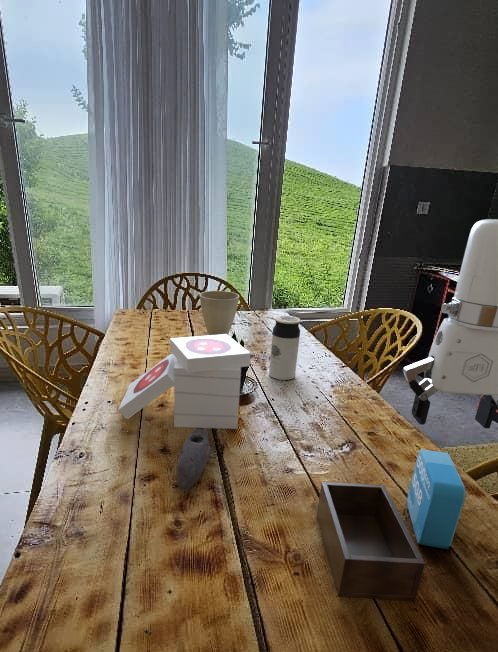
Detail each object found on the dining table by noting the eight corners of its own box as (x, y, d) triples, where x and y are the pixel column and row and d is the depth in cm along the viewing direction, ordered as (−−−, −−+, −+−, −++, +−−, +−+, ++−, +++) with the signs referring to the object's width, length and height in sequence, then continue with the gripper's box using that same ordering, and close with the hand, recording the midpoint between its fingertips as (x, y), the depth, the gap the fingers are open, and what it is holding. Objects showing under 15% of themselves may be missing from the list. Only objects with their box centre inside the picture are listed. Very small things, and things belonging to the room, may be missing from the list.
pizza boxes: (131, 394, 119) (129, 330, 113) (243, 398, 120) (247, 334, 113) (116, 429, 102) (112, 355, 95) (247, 434, 102) (252, 361, 95)
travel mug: (287, 369, 141) (293, 314, 134) (299, 379, 134) (306, 321, 127) (264, 371, 138) (269, 315, 132) (275, 381, 131) (281, 323, 125)
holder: (377, 517, 77) (384, 485, 75) (414, 601, 61) (425, 563, 59) (316, 514, 77) (321, 481, 75) (338, 596, 62) (345, 559, 59)
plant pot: (197, 329, 178) (198, 290, 172) (233, 330, 179) (236, 290, 173) (199, 341, 164) (201, 299, 158) (239, 341, 166) (242, 299, 160)
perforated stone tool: (194, 501, 79) (194, 468, 77) (166, 496, 80) (165, 463, 78) (213, 457, 93) (215, 427, 90) (189, 453, 94) (190, 424, 91)
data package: (406, 501, 81) (419, 445, 77) (432, 506, 81) (447, 449, 76) (418, 548, 71) (435, 486, 66) (448, 554, 70) (467, 491, 65)
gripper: (429, 317, 58) (402, 431, 65) (561, 324, 58) (521, 438, 64) (408, 303, 65) (385, 408, 72) (526, 310, 65) (493, 414, 71)
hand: (450, 422), depth 68 cm, fingers open, 9 cm apart
